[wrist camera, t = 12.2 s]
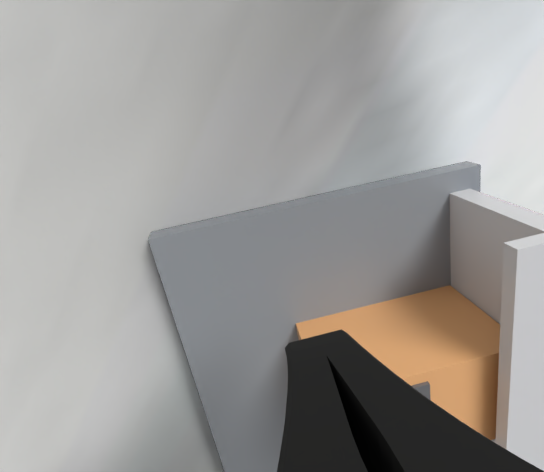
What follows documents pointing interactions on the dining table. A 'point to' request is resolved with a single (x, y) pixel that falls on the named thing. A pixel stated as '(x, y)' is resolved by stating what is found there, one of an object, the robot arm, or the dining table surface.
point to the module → (430, 349)
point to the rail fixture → (350, 293)
